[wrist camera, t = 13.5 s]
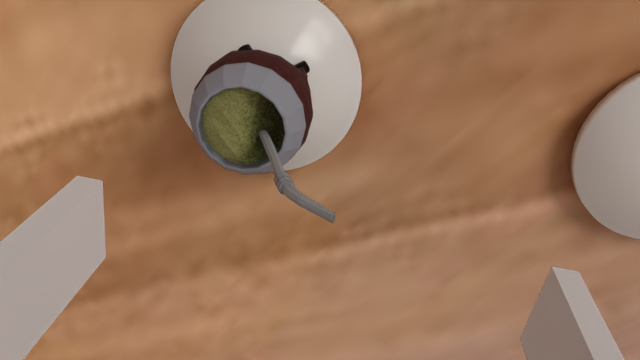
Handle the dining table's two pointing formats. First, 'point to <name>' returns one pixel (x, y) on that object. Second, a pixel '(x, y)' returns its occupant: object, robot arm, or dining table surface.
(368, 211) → the dining table surface
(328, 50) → the plate low
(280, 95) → the mate gourd
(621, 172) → the white dome
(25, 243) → the robot arm
